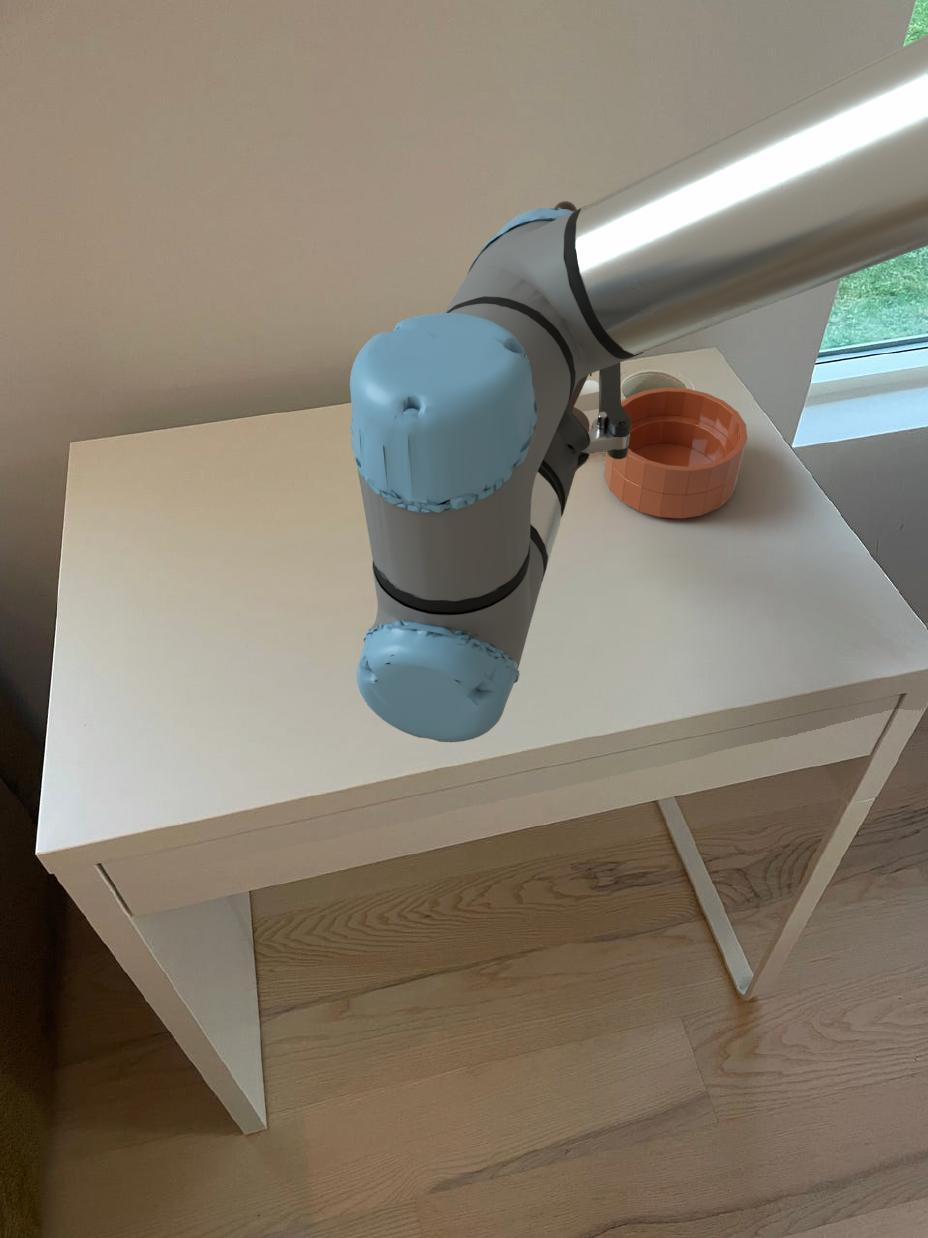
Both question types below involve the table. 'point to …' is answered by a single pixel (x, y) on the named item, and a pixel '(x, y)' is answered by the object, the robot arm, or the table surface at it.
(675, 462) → the bowl
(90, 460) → the table surface
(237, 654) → the table surface
